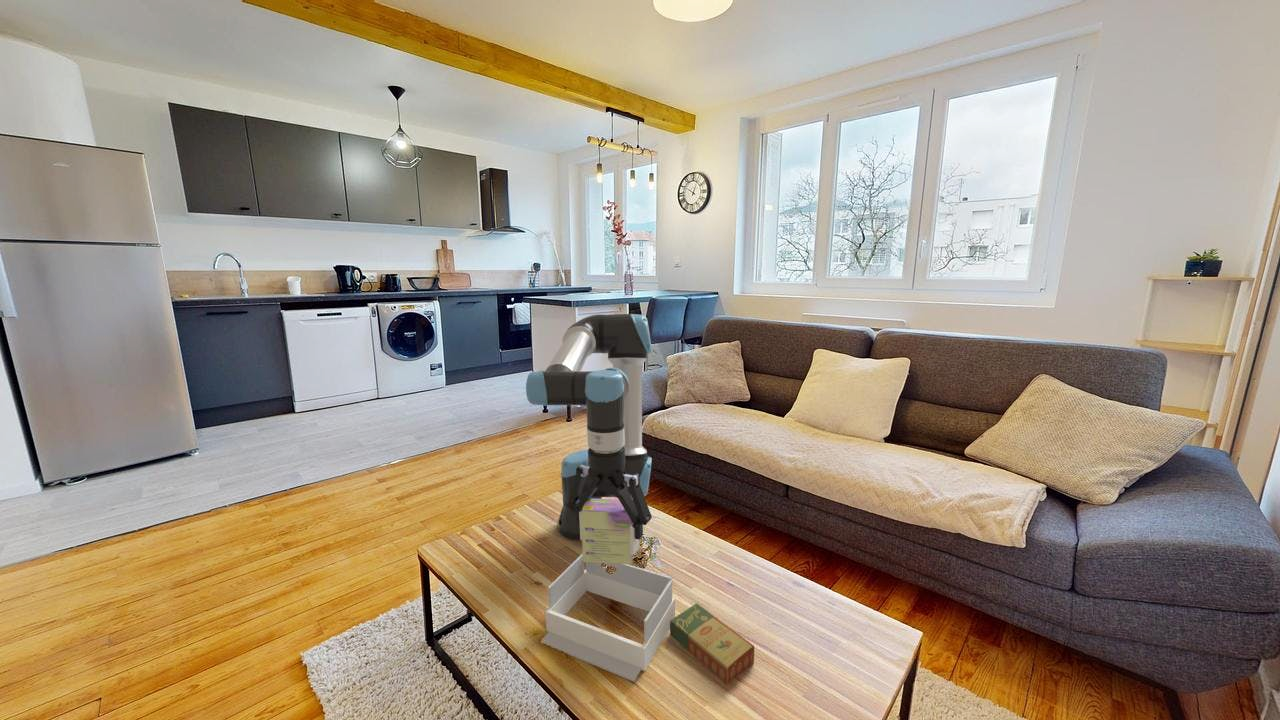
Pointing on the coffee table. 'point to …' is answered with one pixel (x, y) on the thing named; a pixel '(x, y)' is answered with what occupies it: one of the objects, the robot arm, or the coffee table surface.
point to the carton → (712, 642)
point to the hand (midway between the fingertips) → (609, 544)
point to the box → (606, 532)
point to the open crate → (600, 644)
